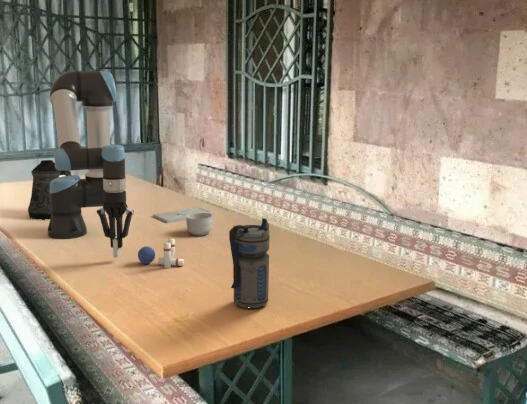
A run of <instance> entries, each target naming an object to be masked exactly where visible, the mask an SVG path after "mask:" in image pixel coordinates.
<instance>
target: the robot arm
mask: <svg viewBox="0 0 527 404" xmlns="http://www.w3.org/2000/svg"><path fill="white" fill-rule="evenodd" d="M117 96H118V95H117V87H116V82H115V79H114V76H113V74H112V73H111V72H109V71H103V70H69V71H66V72H64V73H62V74H60V75H59V76H57V78H56V79H54V82H53V83H52V85H51V87H50V90H49V102H50V104H51V105H52V106H53V111H54V118H55V127H56V134H57V141H58V148H57V149H56V148H55V150H54V152H53V154H54V155H53V156H54V157H53V158H54V161H53V162H54V163H55V168H56V169H57V170H59V171H70V172H71V171H82V170H83V171H84V170H85V171H86V170H87V172H86V173H85V175H84V176H85V177H84V178H81V177H80V176H79V175H76V174H73V175H72V174H71V175H69V176H65V175H62V176H59V177H58V178H56V179H53V180H52V181H51V182H50V191H49V193H50V200H51V219H50V220H49V224H48V226H47V236H48V237H49V238H52V239H74V238H79V237H83V236H84V235H87V233H88V229H87V225H86V222H85V220H84V217H83V215H82V208H86V209H87V208H98V207H99V209H97V210H96V213H97V215H98V217H99V219H100V223H101V227H102V230H103V231H102V232H103V235H104V237H105V238H109V242H110V248H112V251H113V254H112V255H113V258H114V259H115V258H116V259H118V258H119V257H121V255H122V254H121V249H122V248H123V245H124V243H123V239H125V238H126V237H128V236H129V229H130V225H131V221H132V216H133V215H134V213H135V210H133V209H132V210H131V209H130V208H129V207H128V204H127V191H126V189H127V185H126V184H127V181H126V152H125V146H124V145H122V144H111V138H110V136H111V135H110V110H111V109H112V108H113V107H114V106H113V103H114V102H116V101H117V100H118V98H117ZM77 102H80V103H81V105H82V107H83V109H85V111H86V129H87V130H86V131H87V132H86V134H87V147H83V148H82V142H81V141H82V140H81V137H80V129H79V122H78V117H77V116H78V115H77V109H76V104H77ZM100 207H101V208H100ZM106 214H107V216H108V217H107V216H106ZM124 215H126V216H125V220H124V224H123V219H124V217H123V216H124ZM107 218H108V219H107Z"/></svg>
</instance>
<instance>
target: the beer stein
mask: <svg viewBox="0 0 527 404" xmlns="http://www.w3.org/2000/svg"><path fill="white" fill-rule="evenodd" d="M69 175H72V172H71V171H59V170H57V169H56V168H55V161H53V160H51V159H46V160H43V159H42V160H40V162H39V163H38V164H37V165H36V166H35V167H34V168H33V169H32V170H31V176H32V185H31V195H30V201H29V203H28V204H29V205H28V208H27V213H28V216H29V219H31V218H32V220H34V219H42V220H41V221H46V220H45V219H51V200H50V193H49V191H50V182H51V181H52V180H53V179H56V178H58V177H62V176H69Z"/></svg>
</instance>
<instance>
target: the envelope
mask: <svg viewBox="0 0 527 404" xmlns="http://www.w3.org/2000/svg"><path fill="white" fill-rule="evenodd" d="M199 212H203V213H210V214H212V217H215V212H214V211H211V210H208V209H205V208H203V207H200V206H196V207H190V208H185V209H184V208H183V209H177V210H171V211H165V212H157V213H154V214H153V213H152V216H153V218H155V219H157V220H159V221H161V222H164V223H166V224H171V223H177V222H182V221H183V222H184V221H186V216H187V215H189V214H192V213H199Z"/></svg>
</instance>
